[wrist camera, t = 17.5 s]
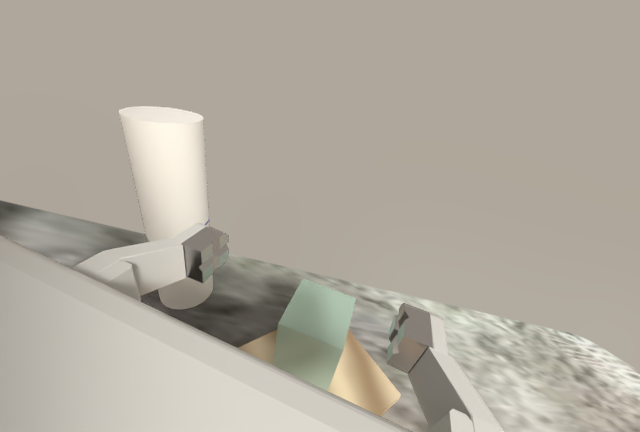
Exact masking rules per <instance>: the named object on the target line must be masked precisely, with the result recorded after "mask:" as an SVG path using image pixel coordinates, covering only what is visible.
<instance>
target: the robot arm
mask: <svg viewBox="0 0 640 432" xmlns="http://www.w3.org/2000/svg"><path fill="white" fill-rule="evenodd" d="M227 242H229V236H228V235H227V234H226V233H223V232H221V231H219V230H216V229H214V228H212V227H209V226H206V225H204V224H201V223H196V224H194V225H193V226H191V227H189V228H188V229H186V230H185V231H183V232H181V233H180V234H178V235H177V236H175V237H174V238H172V239H162V240H157V241H152V242H146V243H141V244H136V245H131V246H125V247H120V248H115V249H110V250H104V251H102V252H100V253H98V254H96V255H94V256H93V257H91V258H89V259H87V260H85V261H83V262H81V263H79V264H77V265H76V266H74V267H72V268H69V267H67V266H65V265H63V264H61V263H58V262H56V261H54V260H52V259H50V258H48V257H46V256H44V255H42V254H40V253H38V252H35V251H33V250H31V249H29V248H27V247H25V246H23V245H21V244H19V243H17V242H15V241H12V240H10V239H8V238H6V237H4V236H2V235H0V432H412V431H410V430H408V429H406V428H404V427H402V426H400V425H398V424H396V423H393V422H391V421H389V420H387V419H385V418H383V417H381V416H379V415H377V414H375V413H372V412H370V411H368V410H366V409H364V408H362V407H360V406H358V405H356V404H354V403H352V402H349V401H347V400H345V399H343V398H341V397H339V396H337V395H335V394H333V393H331V392H328V391H326V390H324V389H322V388H320V387H318V386H316V385H314V384H312V383H310V382H308V381H305V380H303V379H301V378H299V377H297V376H295V375H293V374H291V373H289V372H287V371H284V370H282V369H280V368H278V367H276V366H274V365H272V364H270V363H268V362H266V361H263V360H261V359H259V358H257V357H255V356H253V355H251V354H249V353H247V352H245V351H243V350H240V349H238V348H236V347H234V346H232V345H230V344H228V343H226V342H224V341H222V340H220V339H217V338H215V337H213V336H211V335H209V334H207V333H205V332H203V331H201V330H199V329H196V328H194V327H192V326H190V325H188V324H186V323H184V322H182V321H180V320H178V319H176V318H173V317H171V316H169V315H167V314H165V313H163V312H161V311H159V310H157V309H155V308H153V307H150V306H148V305H146V304H144V303H142V302H141V298H140V296H142V295H144V294H147V293H149V292H152V291H154V290H157V289H159V288H162V287H164V286H167V285H169V284H172V283H174V282H177V281H179V280H182V279H184V278H186V277H188V278H191V279H193V280H196V281H198V282H201V283H204V282H205V281H206V280H207V279H208V278H209V277H210V276H211V275H213V272H214V269H217V268H220V267H221V266H222V265H223V264H224V263H225V261H226V259H227V257H228V254H229V249H228V247H227V245H226V244H227ZM389 340H390V342H391V344H390V345H389V347H388V353H387V364H388V365H390V366H392V367H394V368H397V369H399V370H401V371H403V372H405V373H407V374H408V377H409V379H410V381H411V384H412V386H413V389H414V391H415V393H416V396H417V398H418V401H419V403H420V405H421V408H422V410H423V413H424V415H425V417H426V420H427V422H428V425H429V427H430V430H429V431H427V432H504V430H503V429H502V427H501V426H500V425H499V423H498V422H497V420H496V419H495V417H494V416H493V414H492V413H491V412H490V410H489V409H488V407H487V406H486V404H485V403H484V401H483V400H482V399H481V397H480V396H479V394H478V393H477V391H476V390H475V389H474V387H473V386H472V384H471V383H470V381H469V380H468V378H467V377H466V376H465V374H464V373H463V371H462V370H461V368H460V367H459V365H458V364H457V363H456V361H455V360H454V358H453V357H452V356H450V355H448V349H447V342H446V336H445V329H444V322H443V319H442V317H440V316H437V315H435V314H432V313H429V312H426V311H424V310H421V309H418V308H416V307H413V306H411V305H408V304H405V303H403V304H402V305H401V307H400V308H399V315H396V316H395V317H394V319H393V321H392V324H391V327H390V332H389Z"/></svg>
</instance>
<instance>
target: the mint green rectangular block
mask: <svg viewBox="0 0 640 432" xmlns="http://www.w3.org/2000/svg"><path fill="white" fill-rule="evenodd" d="M355 300H356V298H354V297H351V296H348V295H346V294H343V293H340V292H337V291H335V290H332V289H329V288H327V287H324V286H321V285H318V284H316V283H313V282H310V281H308V280H305V279H302V281H301V283H300V285H299V286H298V288H297V290H296V292H295V294H294V295H293V297H292V299H291V301H290V303H289V305H288V306H287V308H286V310H285V312H284V314H283V315H282V317H281V319H280V321H279V323H278V329H277V336H276V343H275V350H274V357H273V364H272V365H274V366H276V367H278V368H280V369H282V370H284V371H287V372H289V373H291V374H293V375H295V376H297V377H299V378H301V379H303V380H305V381H308V382H310V383H312V384H314V385H316V386H318V387H320V388H322V389H324V390H326V391H328V389H329V386H330V384H331V381H332V379H333V376H334V373H335V371H336V368H337V365H338V363H339V360H340V357H341V355H342V352H343V349H344V345H345V341H346V337H347V333H348V329H349V325H350V321H351V317H352V313H353V309H354V304H355Z"/></svg>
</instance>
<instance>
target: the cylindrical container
mask: <svg viewBox="0 0 640 432" xmlns="http://www.w3.org/2000/svg"><path fill="white" fill-rule="evenodd" d="M119 115H120V119H121V124H122V128H123V133H124V137H125V142H126V147H127V151H128V156H129V160H130V165H131V170H132V174H133V179H134V183H135V188H136V192H137V197H138V202H139V206H140V210H141V215H142V219H143V224H144V229H145V233H146V238H147V242H152V241H157V240H162V239H172V238H174V237H175V236H177V235H178V234H180V233H181V232H183V231H185V230H186V229H188V228H189V227H191V226H193V225H194V224H196V223H201V224H204V225H206V226H209V227H210V222H209V206H208V189H207V171H206V155H205V139H204V123H203V117H202V116H201V115H199V114H197V113H193V112H190V111H185V110H180V109H174V108H166V107H150V106H140V107H128V108H123V109H120V110H119ZM212 291H213V275H211V276H210V277H209V278H208V279H207V280H206V281H205V282H204V283H201V282H198V281H196V280H193V279H191V278H188V277H186V278H184V279H182V280H179V281H177V282H174V283H172V284H169V285H167V286H164V287H162V288H159V289H158V292H159V297H160V300H161V302H162V303H163V304H164V305H165V306H166V307H168V308H171V309H178V310H180V309H188V308H192V307H195V306H197V305H199V304H201V303H202V302H204V301H205V300H206V299H207V298H208V297H209V296H210V295H211V293H212Z"/></svg>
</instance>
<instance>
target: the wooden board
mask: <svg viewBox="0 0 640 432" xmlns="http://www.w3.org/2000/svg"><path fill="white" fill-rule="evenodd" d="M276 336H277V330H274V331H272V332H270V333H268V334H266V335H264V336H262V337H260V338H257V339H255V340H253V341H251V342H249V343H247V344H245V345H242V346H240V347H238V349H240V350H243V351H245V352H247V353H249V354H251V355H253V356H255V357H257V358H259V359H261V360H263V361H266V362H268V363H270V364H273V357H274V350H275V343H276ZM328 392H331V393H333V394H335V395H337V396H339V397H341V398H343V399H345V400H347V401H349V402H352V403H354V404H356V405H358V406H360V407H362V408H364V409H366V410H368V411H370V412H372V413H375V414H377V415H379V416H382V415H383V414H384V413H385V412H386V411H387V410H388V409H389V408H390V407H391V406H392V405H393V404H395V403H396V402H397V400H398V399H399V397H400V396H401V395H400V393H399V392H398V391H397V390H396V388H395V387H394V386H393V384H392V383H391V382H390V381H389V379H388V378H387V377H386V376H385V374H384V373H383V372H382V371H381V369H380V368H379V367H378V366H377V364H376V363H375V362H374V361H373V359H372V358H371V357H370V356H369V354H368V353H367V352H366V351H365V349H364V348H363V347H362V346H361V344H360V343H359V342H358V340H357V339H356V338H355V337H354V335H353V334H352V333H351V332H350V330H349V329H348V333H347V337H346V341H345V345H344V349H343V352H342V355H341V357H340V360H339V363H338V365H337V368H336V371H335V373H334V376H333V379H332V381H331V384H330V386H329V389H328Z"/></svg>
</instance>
